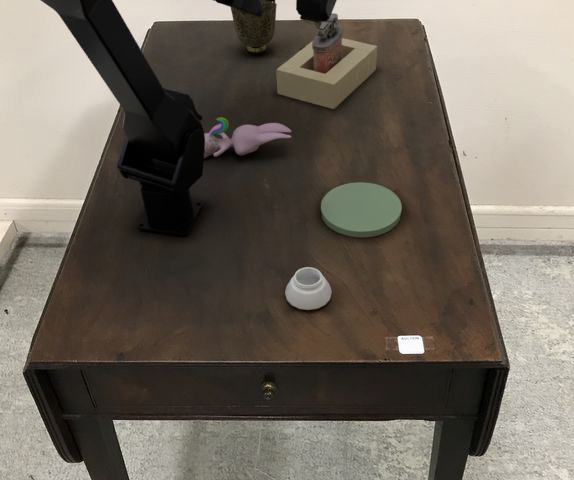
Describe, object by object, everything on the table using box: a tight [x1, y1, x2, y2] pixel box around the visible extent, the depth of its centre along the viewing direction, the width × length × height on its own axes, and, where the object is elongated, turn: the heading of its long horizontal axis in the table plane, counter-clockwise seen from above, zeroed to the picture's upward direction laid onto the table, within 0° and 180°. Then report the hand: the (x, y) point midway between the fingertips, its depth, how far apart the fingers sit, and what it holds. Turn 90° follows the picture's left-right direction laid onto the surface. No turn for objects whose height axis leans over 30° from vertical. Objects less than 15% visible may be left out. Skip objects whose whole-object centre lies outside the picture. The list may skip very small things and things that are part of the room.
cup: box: [230, 0, 278, 56], centre depth 116 cm, size 8×7×8 cm
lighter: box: [311, 12, 344, 74], centre depth 107 cm, size 8×3×10 cm, turn 156°
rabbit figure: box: [204, 116, 292, 159], centre depth 95 cm, size 6×6×15 cm
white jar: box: [284, 266, 333, 311], centre depth 76 cm, size 5×3×5 cm
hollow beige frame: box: [275, 37, 378, 110], centre depth 109 cm, size 14×11×4 cm
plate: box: [320, 181, 403, 238], centre depth 87 cm, size 10×10×1 cm
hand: (290, 19), depth 97 cm, fingers open, 9 cm apart
